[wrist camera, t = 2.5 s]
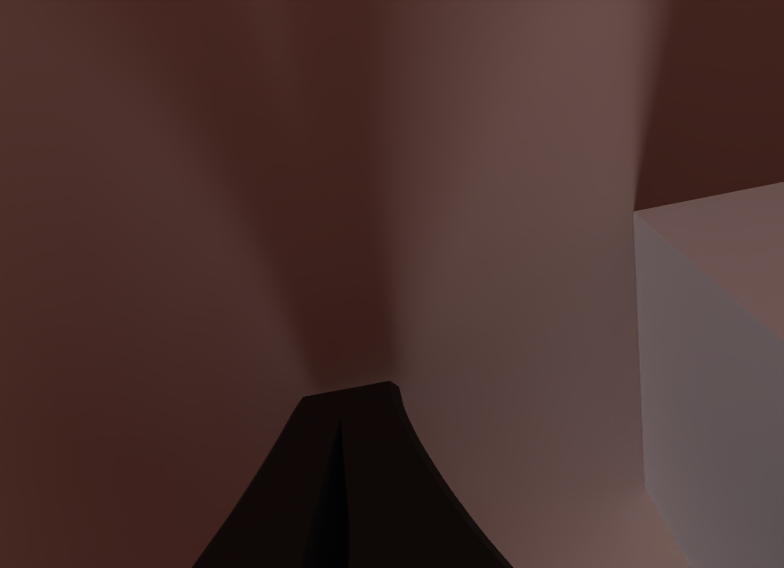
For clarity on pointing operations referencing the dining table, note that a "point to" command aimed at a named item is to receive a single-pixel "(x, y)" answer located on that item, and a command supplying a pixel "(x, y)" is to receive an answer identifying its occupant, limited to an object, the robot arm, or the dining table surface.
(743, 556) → the pale grey notched block
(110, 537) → the dining table surface
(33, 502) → the dining table surface
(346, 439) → the robot arm
